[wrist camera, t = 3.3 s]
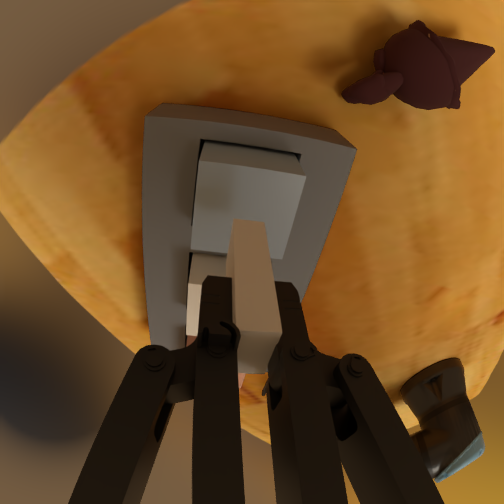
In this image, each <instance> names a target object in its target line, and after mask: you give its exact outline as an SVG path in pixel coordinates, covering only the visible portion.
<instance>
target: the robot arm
mask: <svg viewBox="0 0 504 504" xmlns="http://www.w3.org/2000/svg"><path fill="white" fill-rule="evenodd" d="M267 367H268V377H269V378H268V380H267V382H266V384H265V386H264V388H263V390H262V396H265V394H266V395H267V405H268V416H269V427H270V438H271V448H272V459H273V470H274V481H275V491H276V502H277V504H348V500H347V494H346V488H345V482H344V476H343V471H342V465H343V467H344V469H345V471H346V473H347V476H348V478H349V480H350V482H351V484H352V487H353V489H354V491H355V493H356V495H357V497H358V500H359V502H360V504H444V502H443V500H442V498H441V496H440V494H439V491H438V490H437V487H436V486H435V483H434V481H433V478H435V479H434V480H435V481H436V482H437V483H438V482H440V481H442V480H444V479H446V478H447V477H449V476H451V475H452V474H454V473H456V472H457V471H459V470H460V469H462V468H464V467H465V466H467V465H468V464H470V463H471V462H472V461H474V460H475V459H477V458H478V457H480V456H481V455H482V454H483V452H484V450H485V444H484V440H483V437H482V431H481V430H480V427H479V425H478V422H477V419H476V417H475V414H474V412H473V409H472V407H471V404H470V402H469V399H468V397H467V394H466V385H465V377H464V367H463V365H462V363H461V361H460V360H459V359H457V358H452V359H447V360H444V361H441V362H439V363H436V364H434V365H432V366H430V367H428V368H426V369H425V370H423V371H421V372H420V373H418V374H417V375H415V376H414V377H413V378H411V379H410V380H409V381H408V382H407V383H406V384H405V385H404V386H403V387H402V389H401V395H402V398H403V401H404V402H405V404H407V405H408V406H409V408H410V409H411V411H412V412H413V413H414V415H415V416H416V417H417V419H418V421H419V424H420V427H421V430H420V431H418V432H416V433H413V434H411V435H409V433H408V431H407V429H406V427H405V426H404V424H403V422H402V420H401V418H400V416H399V415H398V413H397V411H396V409H395V407H394V406H393V404H392V402H391V400H390V398H389V397H388V395H387V393H386V391H385V389H384V388H383V386H382V384H381V382H380V381H379V379H378V377H377V375H376V374H375V372H374V370H373V368H372V367H371V365H370V363H369V362H368V361H367V360H366V359H365V358H364V357H362V356H361V355H358V354H347V355H345V356H343V357H342V359H338V358H334V357H331V356H328V355H325V354H322V353H321V352H319V351H317V348H316V347H315V346H314V345H313V344H312V343H311V342H310V340H309V337H308V333H307V328H306V324H305V319H304V315H303V311H302V306H301V303H300V297H299V293H298V291H297V289H296V288H295V286H294V285H293V284H292V282H282V281H274V277H273V271H272V265H271V259H270V253H269V247H268V241H267V235H266V229H265V223H264V222H259V221H251V220H243V219H234V218H233V224H232V230H231V236H230V242H229V248H228V254H227V260H226V277H221V276H211V275H208V276H207V277H206V278H205V280H204V281H203V283H202V288H201V298H200V310H199V322H198V334H197V337H196V339H195V341H194V342H192V343H191V344H190V345H188V346H187V347H184V348H181V349H176V350H169V349H167V348H165V347H163V346H161V345H155V344H153V345H147V346H145V347H143V348H141V349H140V350H139V351H138V352H137V353H136V355H135V357H134V359H133V361H132V363H131V365H130V367H129V369H128V371H127V373H126V375H125V377H124V379H123V381H122V383H121V385H120V387H119V389H118V391H117V393H116V395H115V398H114V400H113V402H112V404H111V406H110V408H109V410H108V412H107V415H106V416H105V419H104V421H103V423H102V425H101V427H100V430H99V432H98V434H97V436H96V438H95V441H94V443H93V445H92V448H91V450H90V452H89V454H88V457H87V459H86V461H85V464H84V466H83V468H82V471H81V473H80V476H79V478H78V481H77V483H76V485H75V488H74V490H73V493H72V496H71V498H70V500H69V503H68V504H140V501H141V499H142V496H143V493H144V490H145V487H146V484H147V481H148V479H149V476H150V473H151V470H152V467H153V464H154V461H155V459H156V456H157V453H158V450H159V447H160V444H161V442H162V439H163V436H164V433H165V431H166V428H167V425H168V422H169V419H170V416H171V414H172V411H173V408H174V406H175V403H178V402H183V401H188V400H192V399H194V407H193V438H192V504H245V495H244V479H243V462H242V444H241V424H240V404H239V381H238V373H248V374H265V372H266V370H267ZM341 462H342V465H341Z"/></svg>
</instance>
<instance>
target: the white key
mask: <svg viewBox="0 0 504 504" xmlns="http://www.w3.org/2000/svg"><path fill="white" fill-rule="evenodd" d="M226 260H227V256H221V255H212V254H203V253H194V252H193V257H192V263H191V269H190V276H189V282H188V299H187V322H186V335H191V336H197V334H198V322H199V310H200V298H201V288H202V283H203V281H204V280H205V278H206V277H207V276H208V275H211V276H221V277H226Z"/></svg>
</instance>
